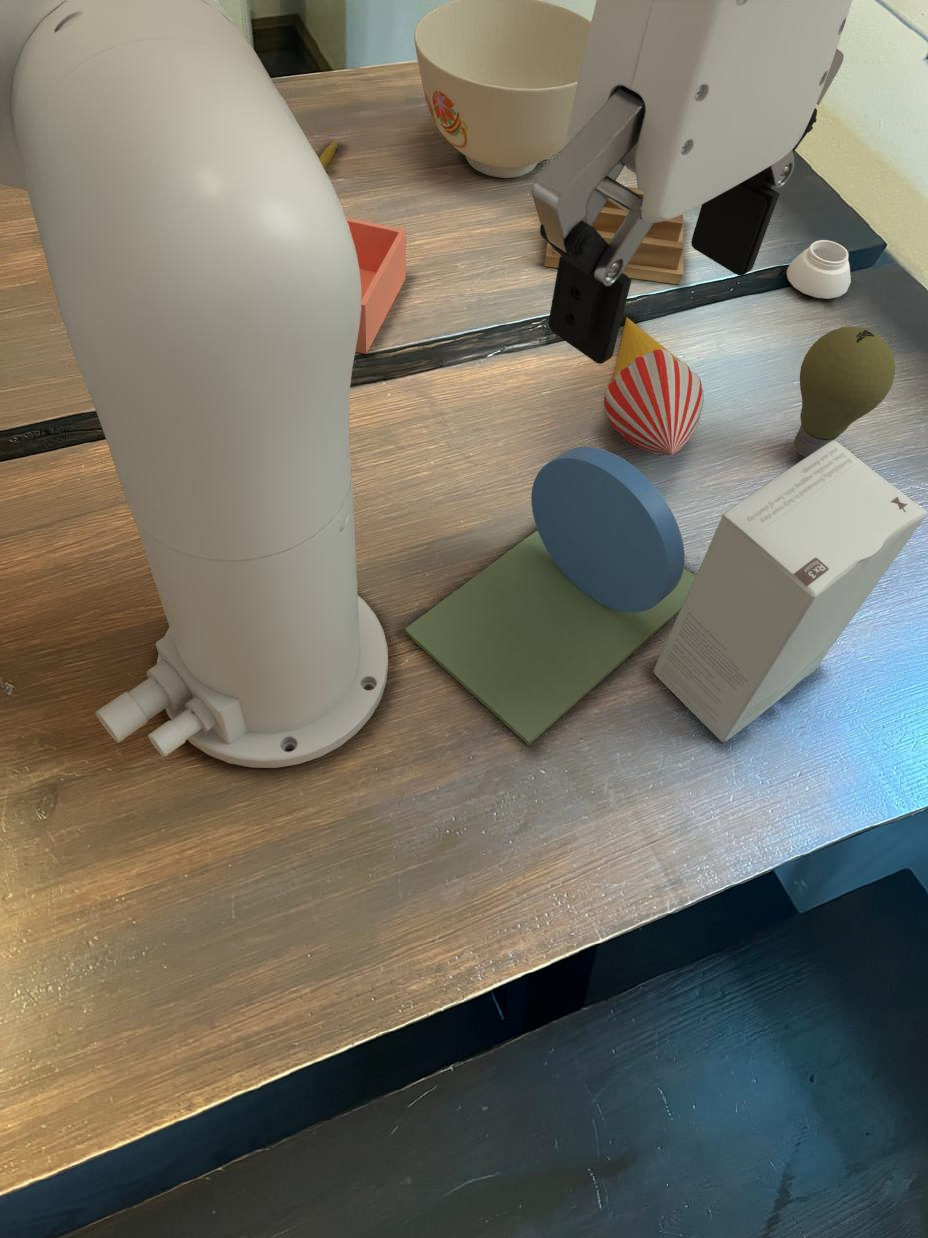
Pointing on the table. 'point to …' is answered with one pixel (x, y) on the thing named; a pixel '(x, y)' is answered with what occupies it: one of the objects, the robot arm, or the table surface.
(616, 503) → the disc
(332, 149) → the dagger
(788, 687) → the cosmetic box
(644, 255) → the rack
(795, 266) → the white jar
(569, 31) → the bowl
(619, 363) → the ice cream cone
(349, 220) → the red open box
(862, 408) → the light bulb
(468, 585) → the mat
